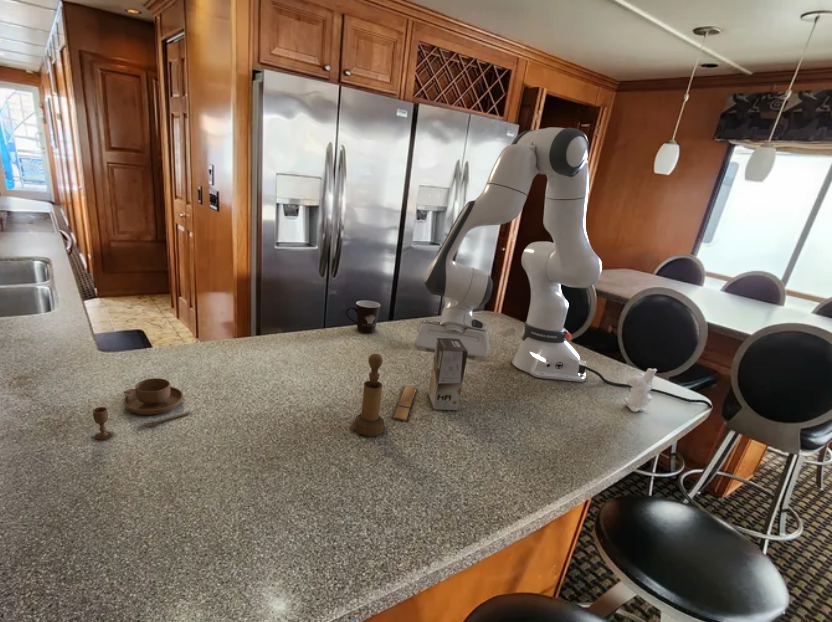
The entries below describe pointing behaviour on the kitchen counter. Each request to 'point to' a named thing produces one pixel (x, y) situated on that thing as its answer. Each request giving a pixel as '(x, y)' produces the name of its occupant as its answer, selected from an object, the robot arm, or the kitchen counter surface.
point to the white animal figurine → (640, 390)
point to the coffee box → (447, 373)
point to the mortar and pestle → (371, 402)
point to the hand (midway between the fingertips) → (447, 368)
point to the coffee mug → (366, 316)
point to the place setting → (144, 402)
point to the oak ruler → (405, 403)
